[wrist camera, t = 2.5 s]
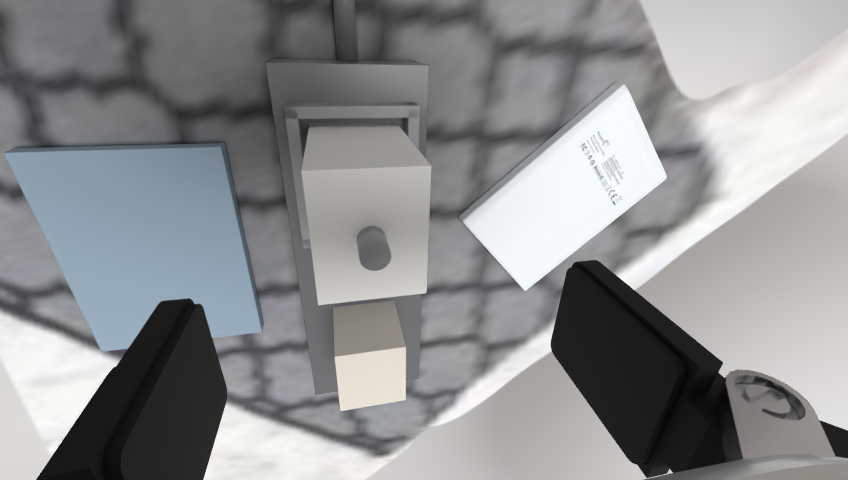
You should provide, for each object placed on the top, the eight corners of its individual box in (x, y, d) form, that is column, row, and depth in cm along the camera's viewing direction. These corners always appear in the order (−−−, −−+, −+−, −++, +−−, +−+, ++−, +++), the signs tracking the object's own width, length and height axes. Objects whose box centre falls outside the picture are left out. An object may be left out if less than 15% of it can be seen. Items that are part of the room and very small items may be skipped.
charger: (309, 123, 17) (298, 184, 10) (396, 122, 18) (441, 177, 11) (320, 222, 20) (317, 327, 13) (396, 217, 21) (434, 312, 14)
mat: (15, 148, 18) (3, 152, 17) (224, 143, 20) (220, 147, 19) (108, 342, 23) (101, 351, 23) (263, 323, 25) (262, 331, 25)
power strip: (248, -120, 15) (200, -217, 9) (417, -101, 17) (469, -175, 11) (316, 361, 28) (314, 451, 22) (410, 348, 29) (432, 428, 23)
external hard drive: (455, 212, 25) (609, 80, 23) (516, 280, 29) (653, 173, 28) (462, 223, 24) (627, 83, 22) (526, 293, 28) (670, 181, 26)
